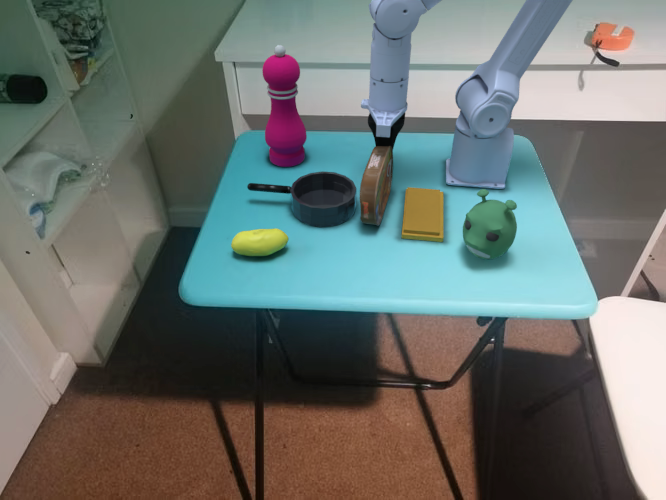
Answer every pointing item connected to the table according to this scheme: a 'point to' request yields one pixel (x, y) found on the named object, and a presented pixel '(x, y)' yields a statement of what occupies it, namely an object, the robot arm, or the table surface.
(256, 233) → the lemon
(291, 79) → the pepper mill
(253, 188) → the pan handle
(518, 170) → the table surface
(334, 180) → the pan
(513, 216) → the alien toy
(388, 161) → the tin
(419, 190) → the yellow flat slab
